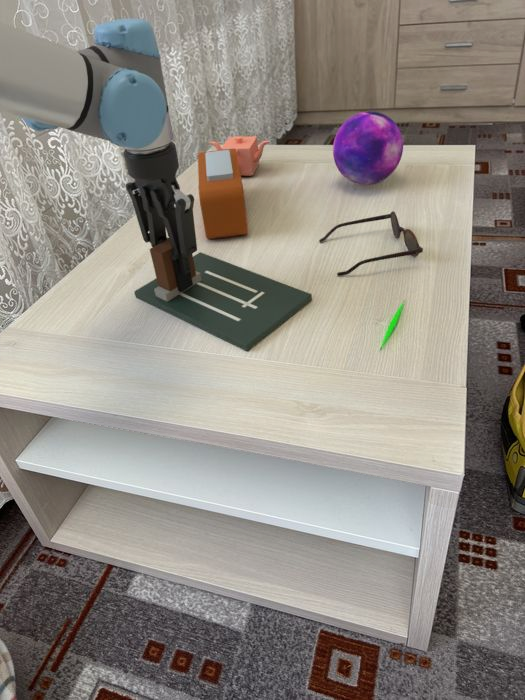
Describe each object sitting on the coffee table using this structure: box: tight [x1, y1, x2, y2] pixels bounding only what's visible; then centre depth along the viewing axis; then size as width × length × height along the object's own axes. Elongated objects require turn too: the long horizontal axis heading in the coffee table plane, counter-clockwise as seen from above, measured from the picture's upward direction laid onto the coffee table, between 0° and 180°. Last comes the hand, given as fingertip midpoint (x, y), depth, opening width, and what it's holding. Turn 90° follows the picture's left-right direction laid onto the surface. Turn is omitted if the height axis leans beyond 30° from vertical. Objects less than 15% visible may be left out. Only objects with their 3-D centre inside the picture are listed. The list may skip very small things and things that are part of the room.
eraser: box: [149, 239, 202, 302], centre depth 91 cm, size 8×3×8 cm, turn 139°
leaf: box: [378, 299, 405, 353], centre depth 82 cm, size 1×14×1 cm, turn 154°
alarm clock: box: [197, 149, 249, 240], centre depth 114 cm, size 24×8×11 cm, turn 6°
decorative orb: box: [332, 110, 404, 186], centre depth 120 cm, size 15×15×15 cm
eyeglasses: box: [318, 211, 424, 277], centre depth 99 cm, size 15×15×5 cm
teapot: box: [208, 135, 270, 177], centre depth 133 cm, size 12×15×8 cm
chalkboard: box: [133, 252, 313, 352], centre depth 92 cm, size 26×16×1 cm, turn 50°
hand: (178, 284), depth 93 cm, fingers closed on eraser, 3 cm apart
